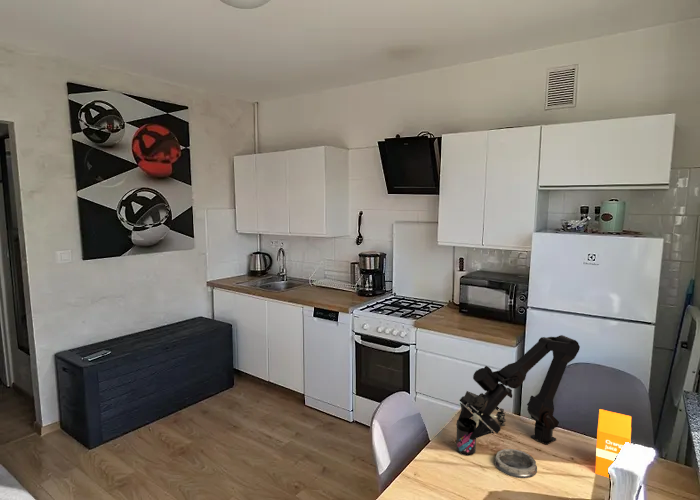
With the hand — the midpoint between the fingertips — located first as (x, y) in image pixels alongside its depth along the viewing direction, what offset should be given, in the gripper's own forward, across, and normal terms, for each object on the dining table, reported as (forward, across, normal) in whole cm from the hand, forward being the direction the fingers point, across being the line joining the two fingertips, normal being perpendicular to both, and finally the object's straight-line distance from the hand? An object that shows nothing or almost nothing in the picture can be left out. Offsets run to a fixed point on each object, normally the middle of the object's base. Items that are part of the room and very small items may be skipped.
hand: (463, 432), depth 147 cm
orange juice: (-23, +23, +33) cm, 47 cm away
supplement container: (+4, 0, +6) cm, 7 cm away
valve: (-8, -15, +18) cm, 25 cm away
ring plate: (-4, +12, +14) cm, 19 cm away
